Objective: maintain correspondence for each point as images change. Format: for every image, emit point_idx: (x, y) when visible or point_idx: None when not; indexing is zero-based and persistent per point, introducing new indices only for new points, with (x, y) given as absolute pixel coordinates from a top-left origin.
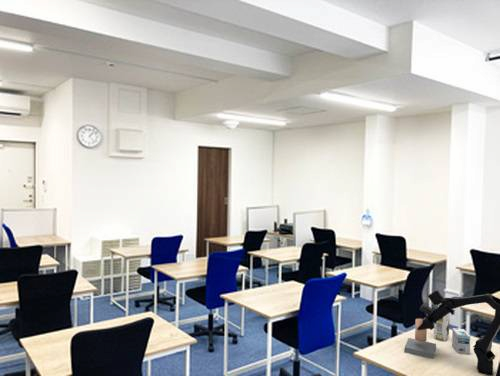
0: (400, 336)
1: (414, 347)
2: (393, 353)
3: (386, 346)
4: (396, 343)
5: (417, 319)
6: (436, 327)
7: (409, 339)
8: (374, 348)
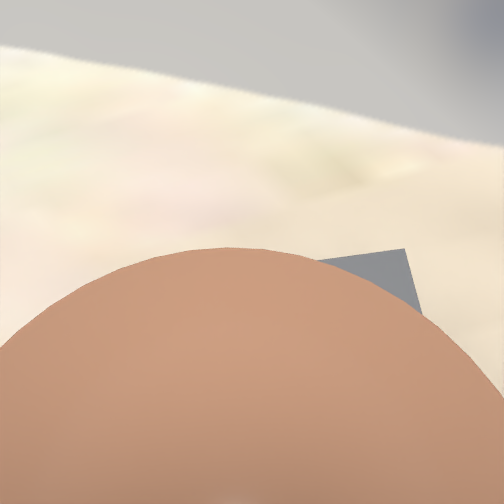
0: (494, 155)
1: None
2: (5, 232)
3: (134, 134)
4: (274, 180)
5: (247, 330)
6: None
7: (360, 272)
8: (25, 76)
